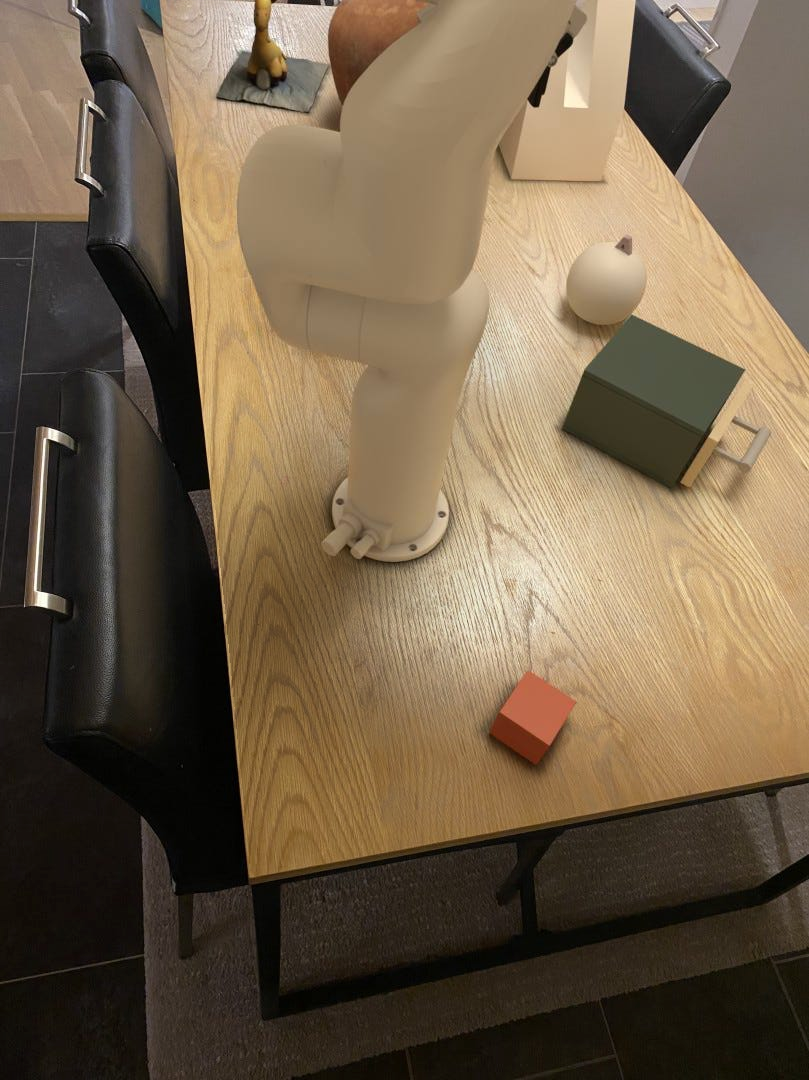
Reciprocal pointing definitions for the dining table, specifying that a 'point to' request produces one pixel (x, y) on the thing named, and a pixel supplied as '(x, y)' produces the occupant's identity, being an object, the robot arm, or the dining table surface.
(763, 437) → the drawer
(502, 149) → the beige slotted block
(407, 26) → the pottery
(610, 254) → the ornament
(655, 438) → the cabinet
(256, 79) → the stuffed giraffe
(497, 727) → the block
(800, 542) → the dining table surface
